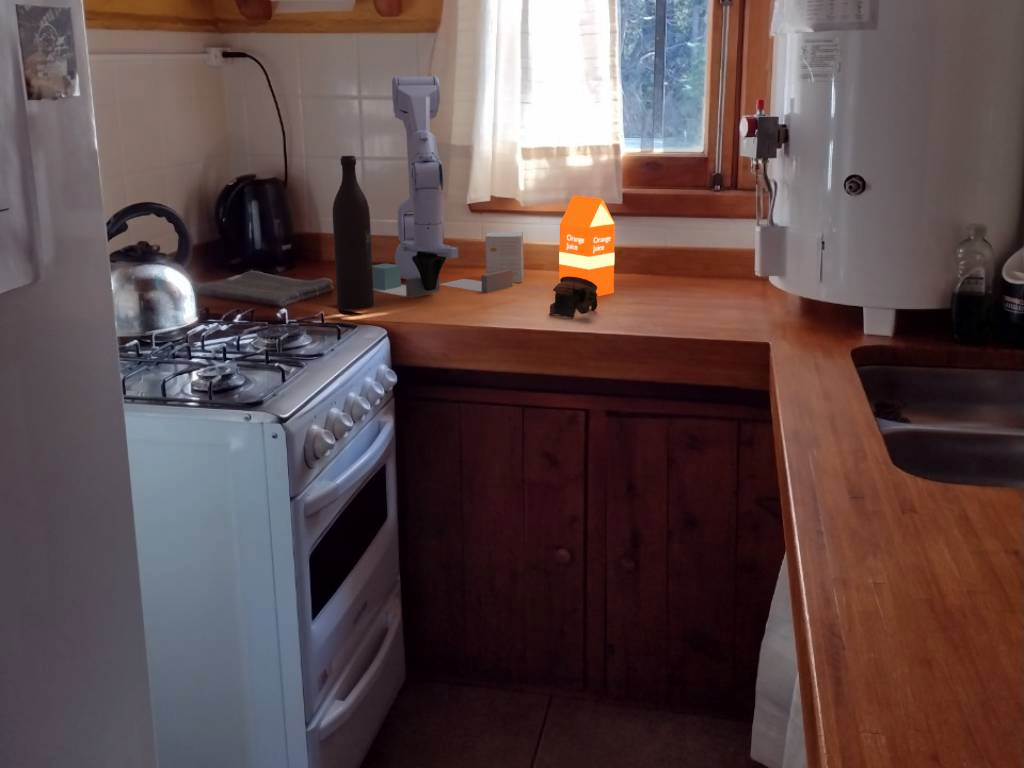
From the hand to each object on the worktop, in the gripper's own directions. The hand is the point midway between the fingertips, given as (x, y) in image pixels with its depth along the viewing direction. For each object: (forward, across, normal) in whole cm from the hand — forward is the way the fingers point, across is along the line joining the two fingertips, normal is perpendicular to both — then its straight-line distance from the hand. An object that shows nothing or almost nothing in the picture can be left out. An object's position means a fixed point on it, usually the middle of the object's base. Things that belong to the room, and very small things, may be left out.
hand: (430, 289), depth 216 cm
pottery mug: (+3, +30, +10) cm, 32 cm away
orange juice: (+3, +20, +27) cm, 33 cm away
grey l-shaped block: (+2, 0, +13) cm, 13 cm away
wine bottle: (+3, -4, -16) cm, 17 cm away
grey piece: (+2, -10, 0) cm, 11 cm away
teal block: (+1, -13, 0) cm, 13 cm away
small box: (+3, -2, +26) cm, 26 cm away
